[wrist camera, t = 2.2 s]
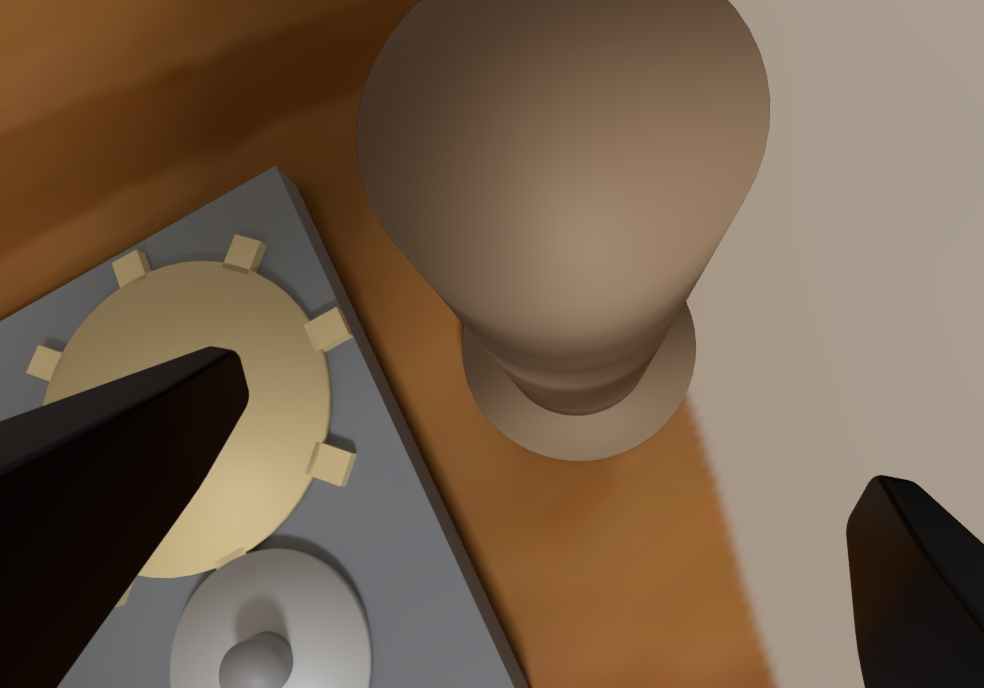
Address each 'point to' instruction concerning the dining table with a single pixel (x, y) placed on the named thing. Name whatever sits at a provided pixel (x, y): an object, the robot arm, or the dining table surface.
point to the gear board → (267, 471)
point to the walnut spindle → (566, 195)
